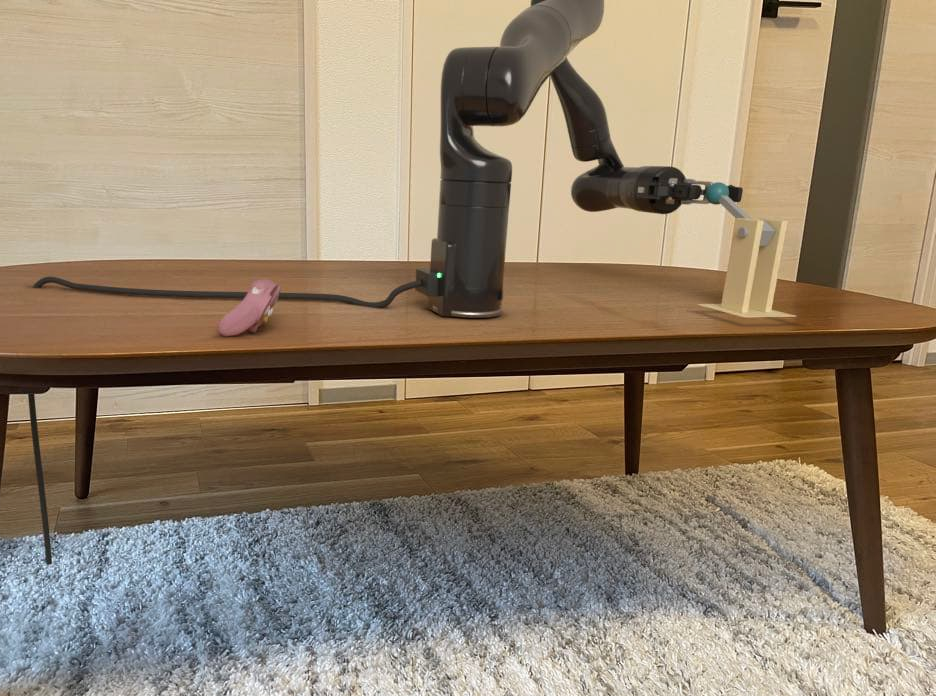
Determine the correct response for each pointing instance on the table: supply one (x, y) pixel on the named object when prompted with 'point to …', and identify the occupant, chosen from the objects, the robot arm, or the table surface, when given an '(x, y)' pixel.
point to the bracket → (752, 270)
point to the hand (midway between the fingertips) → (716, 193)
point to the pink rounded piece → (251, 309)
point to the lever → (735, 208)
